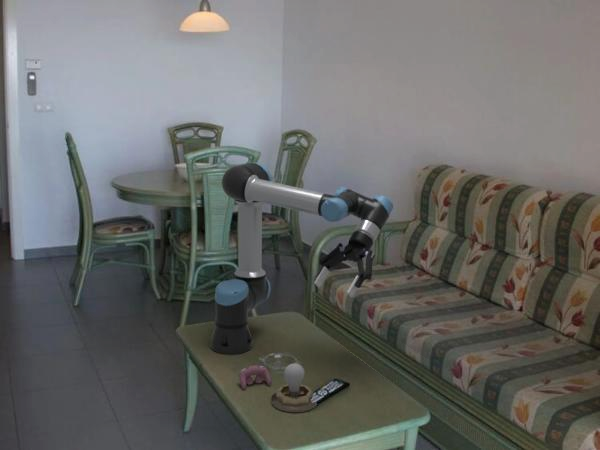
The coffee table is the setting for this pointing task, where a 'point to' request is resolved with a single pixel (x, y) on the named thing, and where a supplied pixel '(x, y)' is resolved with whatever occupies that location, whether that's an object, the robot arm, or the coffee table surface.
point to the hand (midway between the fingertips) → (332, 290)
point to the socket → (293, 400)
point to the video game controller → (253, 370)
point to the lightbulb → (294, 378)
